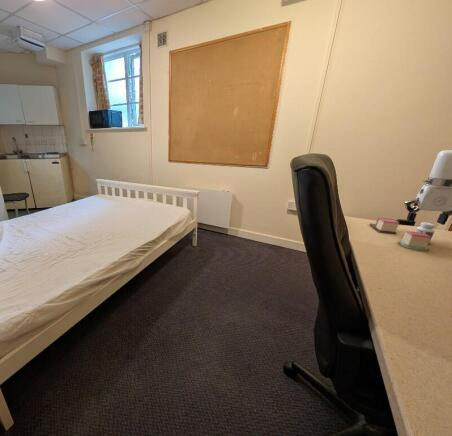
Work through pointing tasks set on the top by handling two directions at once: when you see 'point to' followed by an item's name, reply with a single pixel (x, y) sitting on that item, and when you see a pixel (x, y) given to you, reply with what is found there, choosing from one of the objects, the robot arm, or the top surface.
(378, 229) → the cake board
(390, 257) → the top surface
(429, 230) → the pill bottle
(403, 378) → the top surface
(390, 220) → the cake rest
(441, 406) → the top surface
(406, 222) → the knife
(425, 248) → the plate
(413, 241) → the cake slice
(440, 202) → the robot arm
